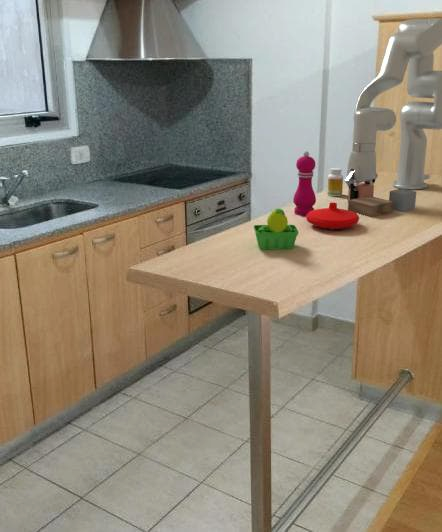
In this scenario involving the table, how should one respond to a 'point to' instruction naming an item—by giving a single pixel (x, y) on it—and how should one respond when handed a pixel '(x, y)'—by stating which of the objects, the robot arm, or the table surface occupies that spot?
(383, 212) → the walnut block
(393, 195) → the grey cube
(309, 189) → the pepper mill
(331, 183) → the supplement bottle
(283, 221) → the fruit basket
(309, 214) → the flat cone with hole
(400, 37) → the robot arm
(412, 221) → the table surface
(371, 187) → the salmon pink cube
